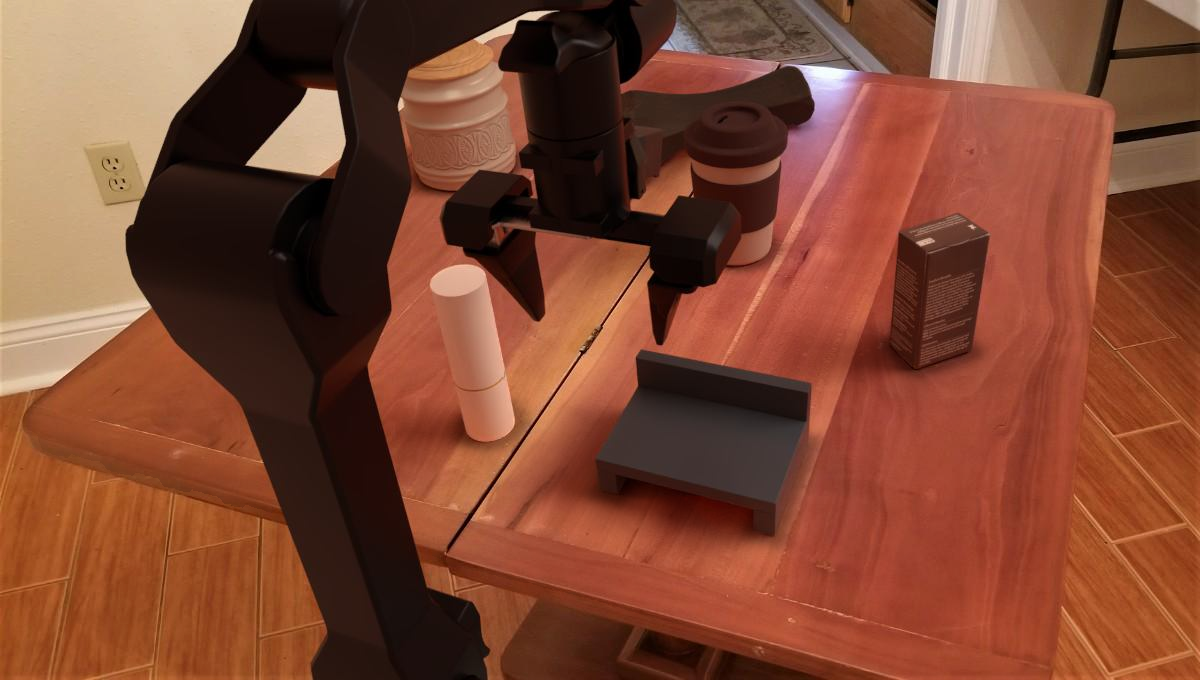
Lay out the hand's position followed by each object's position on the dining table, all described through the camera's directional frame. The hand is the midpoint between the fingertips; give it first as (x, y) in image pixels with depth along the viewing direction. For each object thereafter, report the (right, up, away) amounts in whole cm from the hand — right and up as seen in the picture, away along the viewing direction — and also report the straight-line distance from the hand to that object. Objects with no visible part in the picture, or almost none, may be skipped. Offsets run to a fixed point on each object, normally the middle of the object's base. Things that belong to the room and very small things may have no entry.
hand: (599, 329), depth 64 cm
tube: (-9, -8, +16) cm, 20 cm away
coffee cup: (+14, +9, +34) cm, 38 cm away
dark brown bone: (+13, +23, +53) cm, 59 cm away
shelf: (+8, -11, +10) cm, 17 cm away
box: (+29, -2, +19) cm, 35 cm away
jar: (-17, +21, +54) cm, 60 cm away
